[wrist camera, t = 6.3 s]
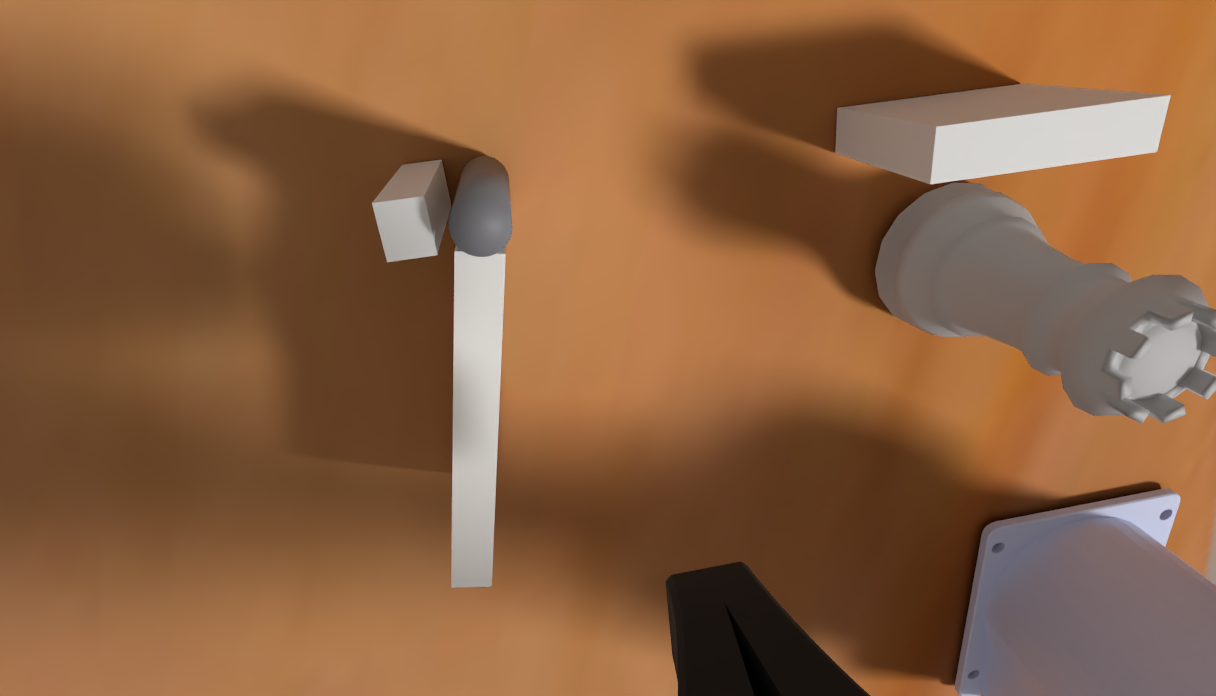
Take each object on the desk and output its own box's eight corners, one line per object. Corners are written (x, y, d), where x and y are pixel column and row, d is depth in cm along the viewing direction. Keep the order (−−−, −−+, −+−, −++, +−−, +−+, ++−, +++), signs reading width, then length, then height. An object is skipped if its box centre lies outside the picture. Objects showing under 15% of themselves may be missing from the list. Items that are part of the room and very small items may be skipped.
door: (456, 481, 21) (446, 596, 16) (461, 154, 17) (448, 192, 12) (496, 480, 21) (495, 595, 17) (509, 157, 17) (513, 197, 13)
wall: (1015, 128, 19) (1157, 151, 15) (412, 211, 17) (387, 262, 13) (1023, 83, 18) (1170, 95, 14) (401, 164, 17) (371, 203, 13)
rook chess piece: (1014, 166, 19) (1318, 240, 12) (995, 307, 21) (1248, 442, 14) (869, 191, 19) (1093, 282, 12) (863, 332, 21) (1053, 483, 14)
